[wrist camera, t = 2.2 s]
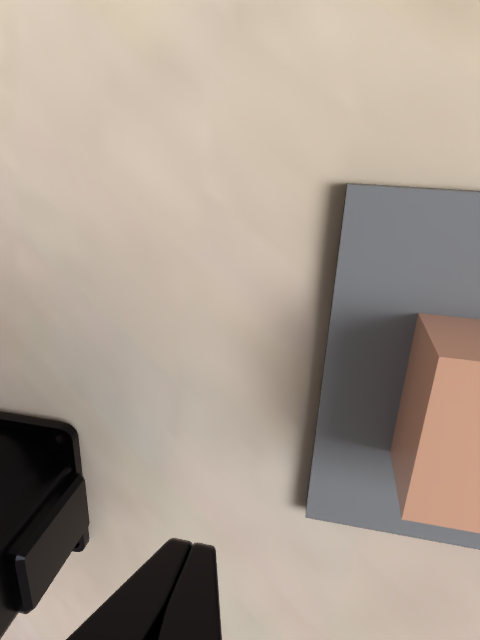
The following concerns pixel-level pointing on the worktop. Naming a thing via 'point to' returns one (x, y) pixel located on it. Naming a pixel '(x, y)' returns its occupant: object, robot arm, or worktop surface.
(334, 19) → the worktop surface
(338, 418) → the slate mat
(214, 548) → the robot arm
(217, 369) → the worktop surface
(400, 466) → the salmon brown block
